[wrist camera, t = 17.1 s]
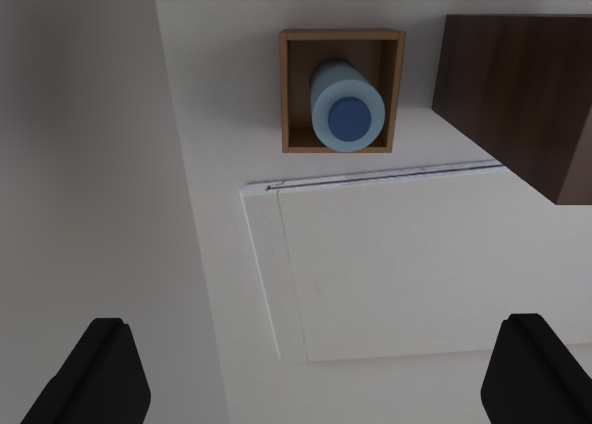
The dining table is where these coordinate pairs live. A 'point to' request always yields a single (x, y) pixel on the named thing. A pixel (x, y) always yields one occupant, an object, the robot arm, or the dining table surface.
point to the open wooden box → (346, 45)
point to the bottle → (344, 106)
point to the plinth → (523, 95)
